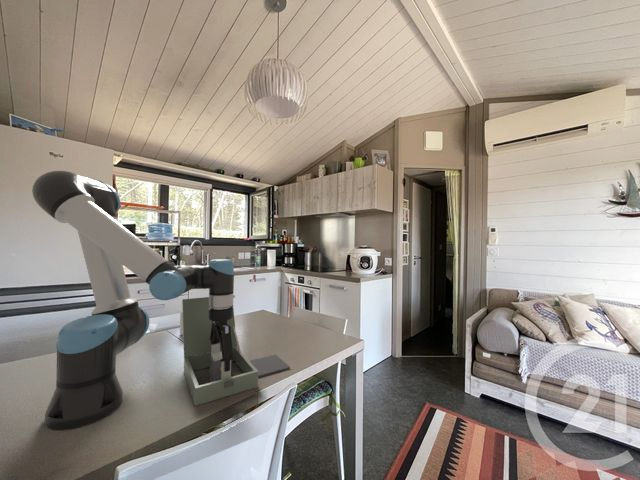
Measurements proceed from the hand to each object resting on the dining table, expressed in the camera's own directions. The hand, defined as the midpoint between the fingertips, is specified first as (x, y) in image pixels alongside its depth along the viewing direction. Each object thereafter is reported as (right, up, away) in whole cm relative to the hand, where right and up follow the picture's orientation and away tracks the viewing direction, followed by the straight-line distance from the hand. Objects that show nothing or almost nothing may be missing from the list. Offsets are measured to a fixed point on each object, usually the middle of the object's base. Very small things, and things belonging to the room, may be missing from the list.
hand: (220, 371), depth 86 cm
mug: (-28, -2, +40) cm, 49 cm away
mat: (+14, -3, +10) cm, 17 cm away
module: (0, -3, 0) cm, 3 cm away
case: (-3, -2, +3) cm, 5 cm away
